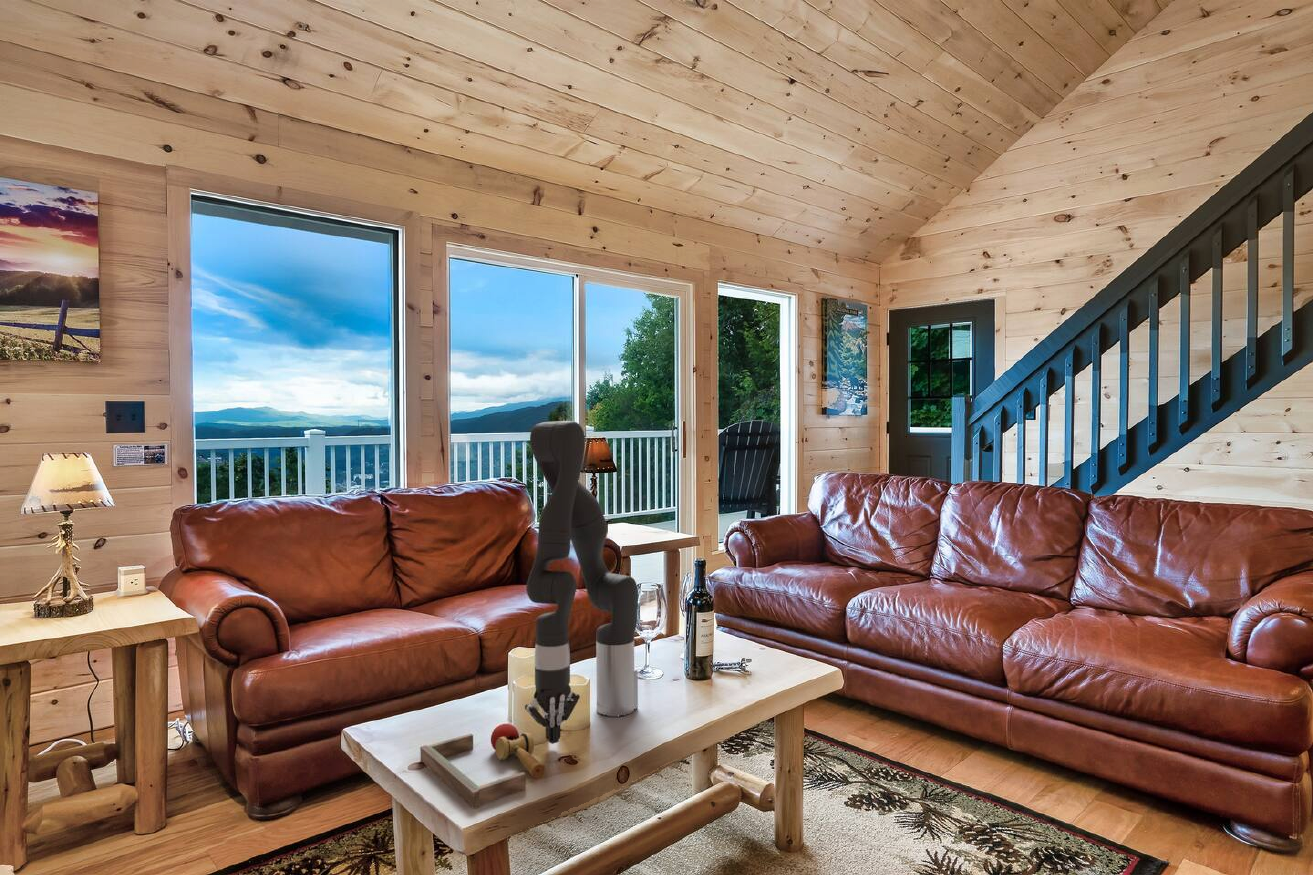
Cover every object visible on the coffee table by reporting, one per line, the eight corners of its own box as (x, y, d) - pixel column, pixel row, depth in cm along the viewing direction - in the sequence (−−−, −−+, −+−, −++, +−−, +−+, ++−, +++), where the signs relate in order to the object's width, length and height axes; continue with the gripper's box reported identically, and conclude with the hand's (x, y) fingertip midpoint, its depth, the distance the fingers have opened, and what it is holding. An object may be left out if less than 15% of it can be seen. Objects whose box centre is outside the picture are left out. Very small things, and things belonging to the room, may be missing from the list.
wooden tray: (470, 746, 172) (470, 732, 171) (527, 789, 152) (526, 774, 152) (420, 760, 165) (420, 746, 164) (473, 808, 145) (473, 792, 145)
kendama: (558, 777, 160) (516, 736, 174) (555, 750, 158) (513, 711, 172) (524, 795, 156) (484, 751, 170) (520, 767, 154) (481, 725, 168)
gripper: (569, 652, 176) (569, 728, 177) (516, 664, 168) (517, 744, 169) (587, 660, 170) (588, 739, 171) (534, 674, 162) (535, 756, 163)
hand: (553, 741), depth 170 cm, fingers closed
